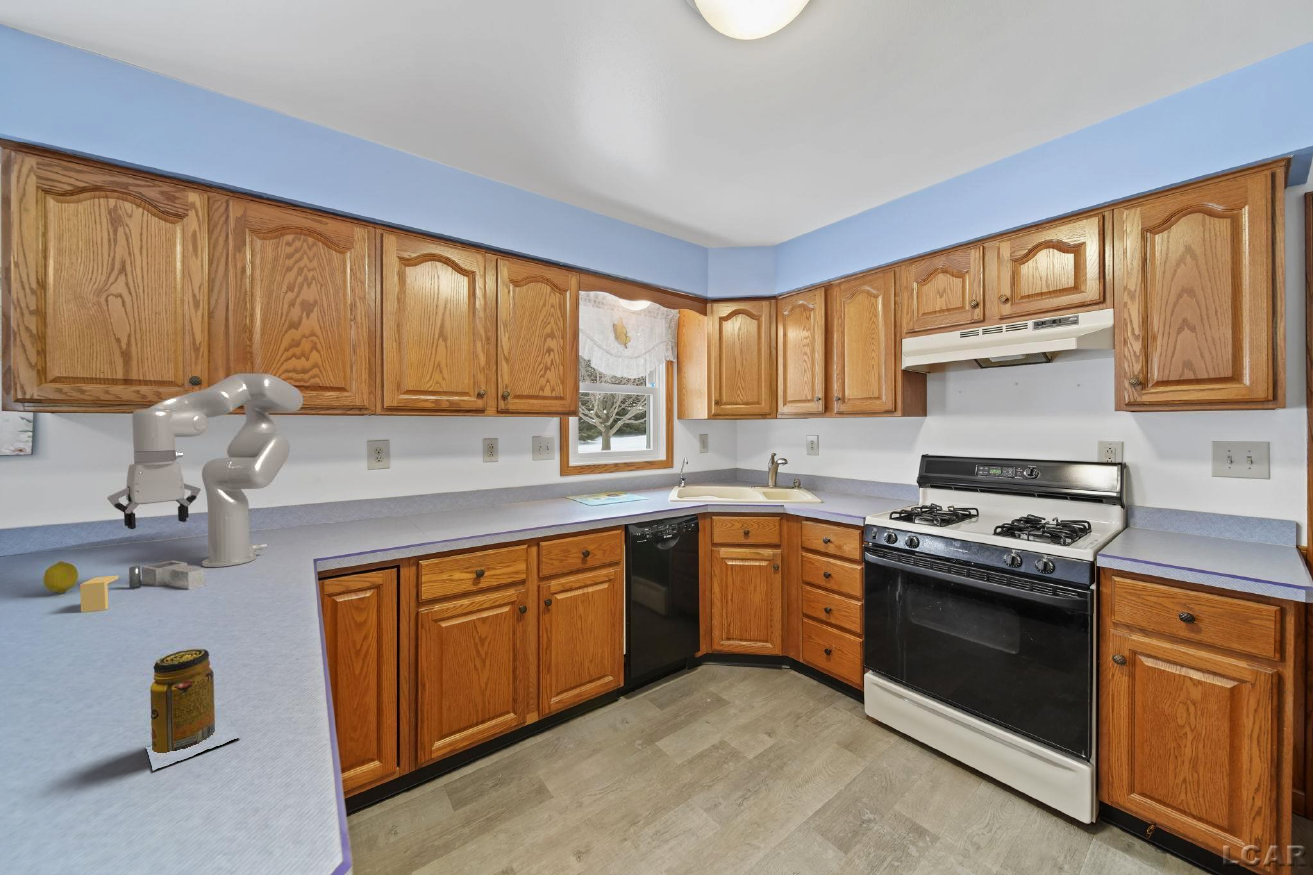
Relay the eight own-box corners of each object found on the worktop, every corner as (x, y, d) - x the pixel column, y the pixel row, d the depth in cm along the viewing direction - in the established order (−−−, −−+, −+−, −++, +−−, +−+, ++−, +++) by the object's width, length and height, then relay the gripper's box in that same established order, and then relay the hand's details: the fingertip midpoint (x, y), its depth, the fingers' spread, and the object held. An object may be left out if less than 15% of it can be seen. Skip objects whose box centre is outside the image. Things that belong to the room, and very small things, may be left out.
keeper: (96, 604, 119) (95, 577, 118) (119, 601, 120) (118, 575, 120) (81, 612, 113) (80, 584, 113) (105, 609, 115) (104, 582, 115)
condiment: (145, 748, 66) (142, 657, 66) (229, 719, 73) (227, 636, 72) (152, 773, 61) (149, 675, 61) (241, 740, 68) (239, 651, 68)
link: (212, 583, 134) (211, 567, 133) (181, 591, 127) (180, 574, 127) (173, 576, 140) (172, 560, 140) (142, 583, 134) (141, 566, 134)
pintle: (138, 586, 132) (137, 565, 131) (142, 587, 131) (142, 566, 131) (128, 588, 130) (127, 567, 129) (132, 589, 129) (131, 568, 129)
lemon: (54, 598, 123) (53, 565, 123) (37, 596, 124) (36, 563, 124) (84, 590, 128) (83, 559, 128) (68, 589, 129) (67, 557, 129)
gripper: (192, 455, 139) (195, 517, 140) (101, 459, 124) (104, 529, 125) (204, 456, 135) (206, 520, 136) (111, 461, 120) (114, 533, 121)
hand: (157, 524), depth 130 cm, fingers open, 9 cm apart
